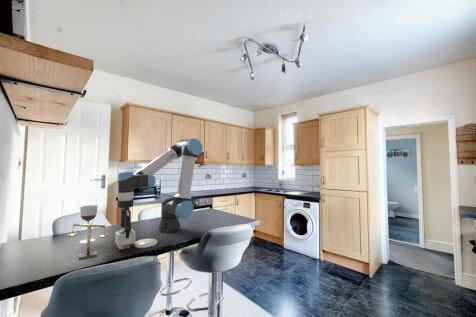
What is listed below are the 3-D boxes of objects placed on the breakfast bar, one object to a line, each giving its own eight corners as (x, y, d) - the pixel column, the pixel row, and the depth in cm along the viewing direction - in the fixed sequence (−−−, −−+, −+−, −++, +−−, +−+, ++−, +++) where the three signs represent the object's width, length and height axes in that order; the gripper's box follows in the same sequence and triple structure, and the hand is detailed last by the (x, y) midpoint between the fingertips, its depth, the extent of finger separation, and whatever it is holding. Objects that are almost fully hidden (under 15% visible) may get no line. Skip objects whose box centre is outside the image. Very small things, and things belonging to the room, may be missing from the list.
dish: (153, 239, 128) (153, 237, 128) (160, 245, 119) (160, 242, 119) (132, 243, 121) (132, 241, 121) (137, 249, 112) (137, 247, 112)
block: (127, 245, 118) (128, 228, 119) (129, 247, 114) (130, 230, 115) (117, 247, 115) (118, 230, 116) (119, 249, 111) (120, 232, 112)
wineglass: (74, 242, 122) (76, 207, 123) (89, 237, 130) (91, 204, 131) (85, 243, 119) (87, 208, 120) (99, 239, 127) (101, 205, 129)
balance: (107, 250, 110) (109, 218, 111) (109, 253, 106) (110, 220, 107) (65, 258, 99) (67, 223, 100) (65, 262, 95) (67, 225, 96)
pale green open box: (132, 238, 121) (132, 228, 122) (135, 242, 115) (135, 232, 115) (115, 241, 116) (115, 231, 116) (117, 246, 109) (117, 235, 110)
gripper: (114, 198, 122) (114, 237, 122) (121, 203, 106) (121, 249, 105) (129, 197, 127) (128, 235, 126) (137, 201, 110) (137, 245, 109)
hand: (125, 241), depth 115 cm, fingers closed on pale green open box, 8 cm apart
